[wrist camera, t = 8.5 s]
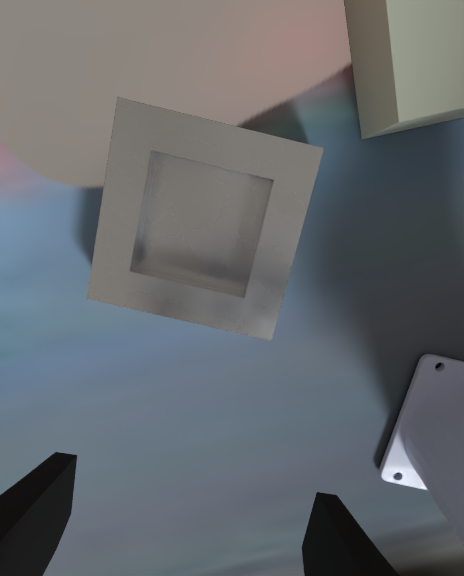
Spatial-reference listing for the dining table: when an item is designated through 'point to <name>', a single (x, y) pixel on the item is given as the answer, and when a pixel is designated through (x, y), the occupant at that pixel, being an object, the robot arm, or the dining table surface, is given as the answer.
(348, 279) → the dining table surface
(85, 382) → the dining table surface
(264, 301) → the stand
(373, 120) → the socket
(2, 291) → the dining table surface
